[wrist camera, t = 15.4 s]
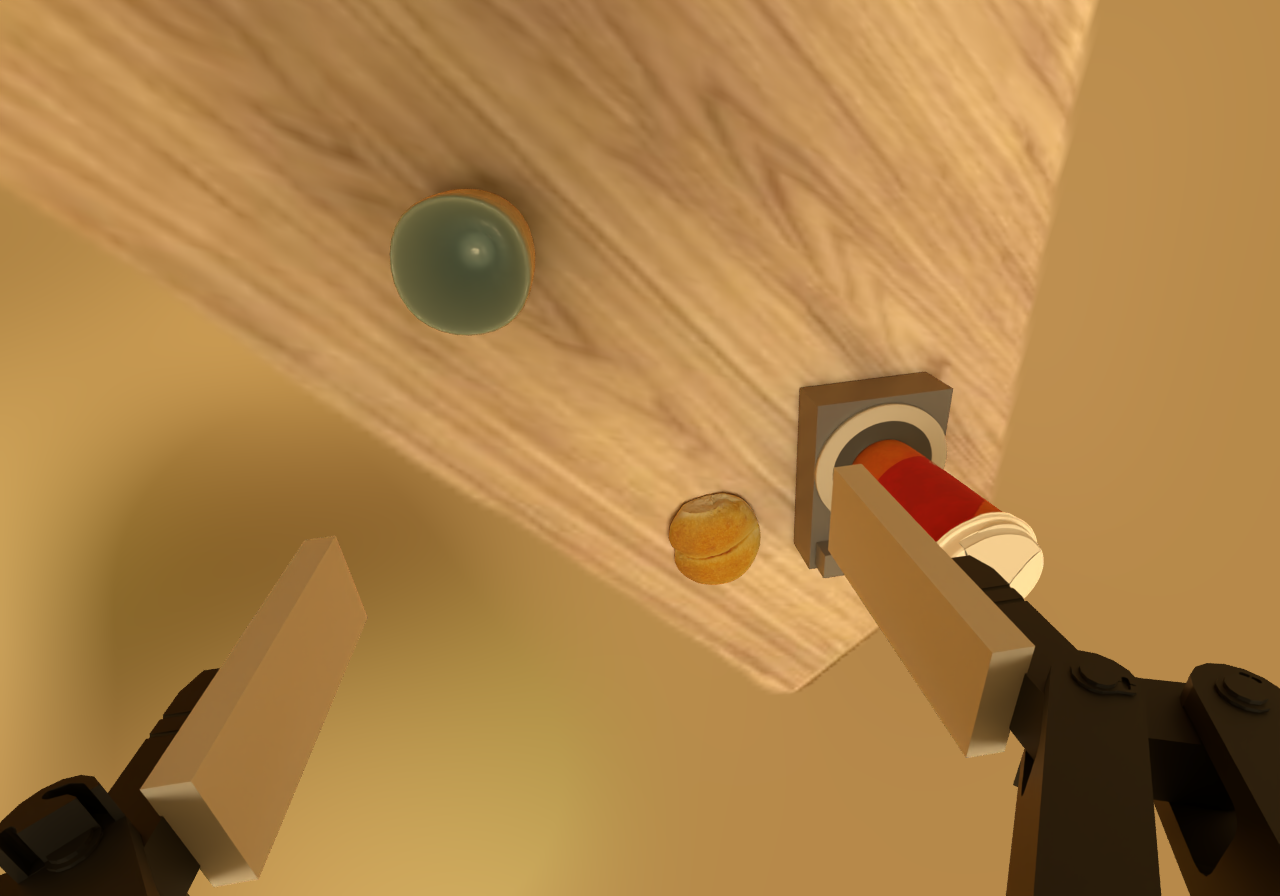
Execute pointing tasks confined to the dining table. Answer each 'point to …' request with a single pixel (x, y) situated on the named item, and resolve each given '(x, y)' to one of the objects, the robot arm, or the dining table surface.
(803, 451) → the block
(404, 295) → the cup
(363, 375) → the dining table surface
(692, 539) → the bread roll
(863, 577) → the robot arm
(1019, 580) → the paper cup
